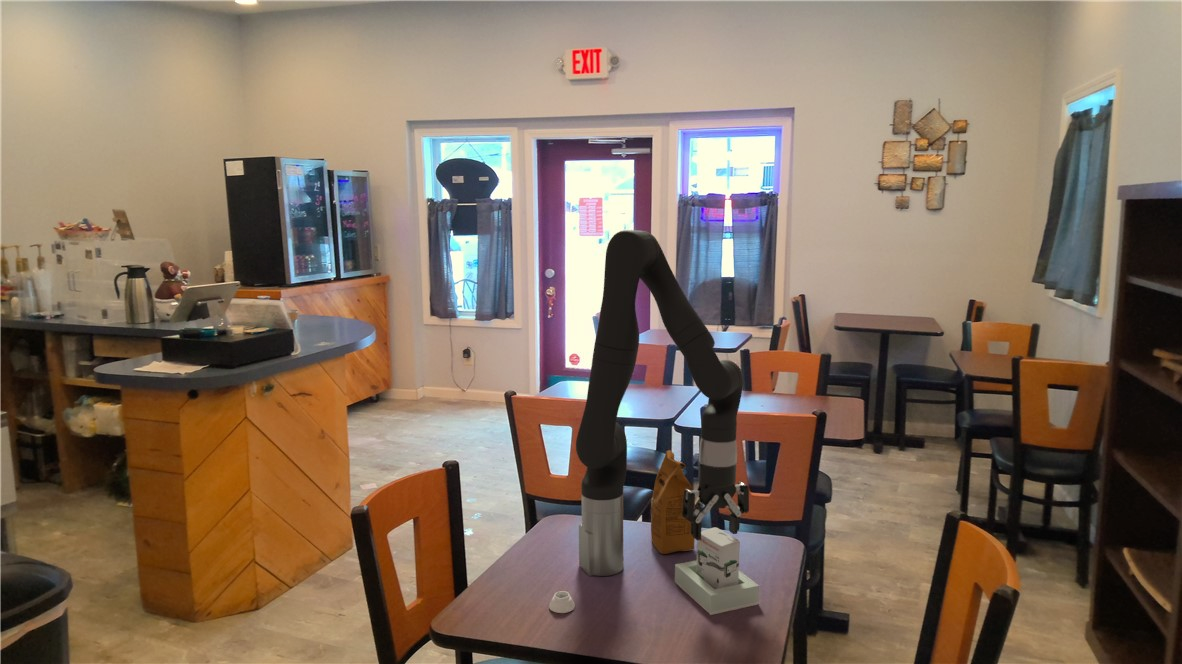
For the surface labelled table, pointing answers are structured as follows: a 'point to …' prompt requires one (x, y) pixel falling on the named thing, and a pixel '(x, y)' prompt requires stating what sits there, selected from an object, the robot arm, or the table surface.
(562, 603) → the lidless jar
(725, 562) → the ink box
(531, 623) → the table surface
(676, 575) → the pale green rectangular frame
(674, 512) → the coffee package
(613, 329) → the robot arm
